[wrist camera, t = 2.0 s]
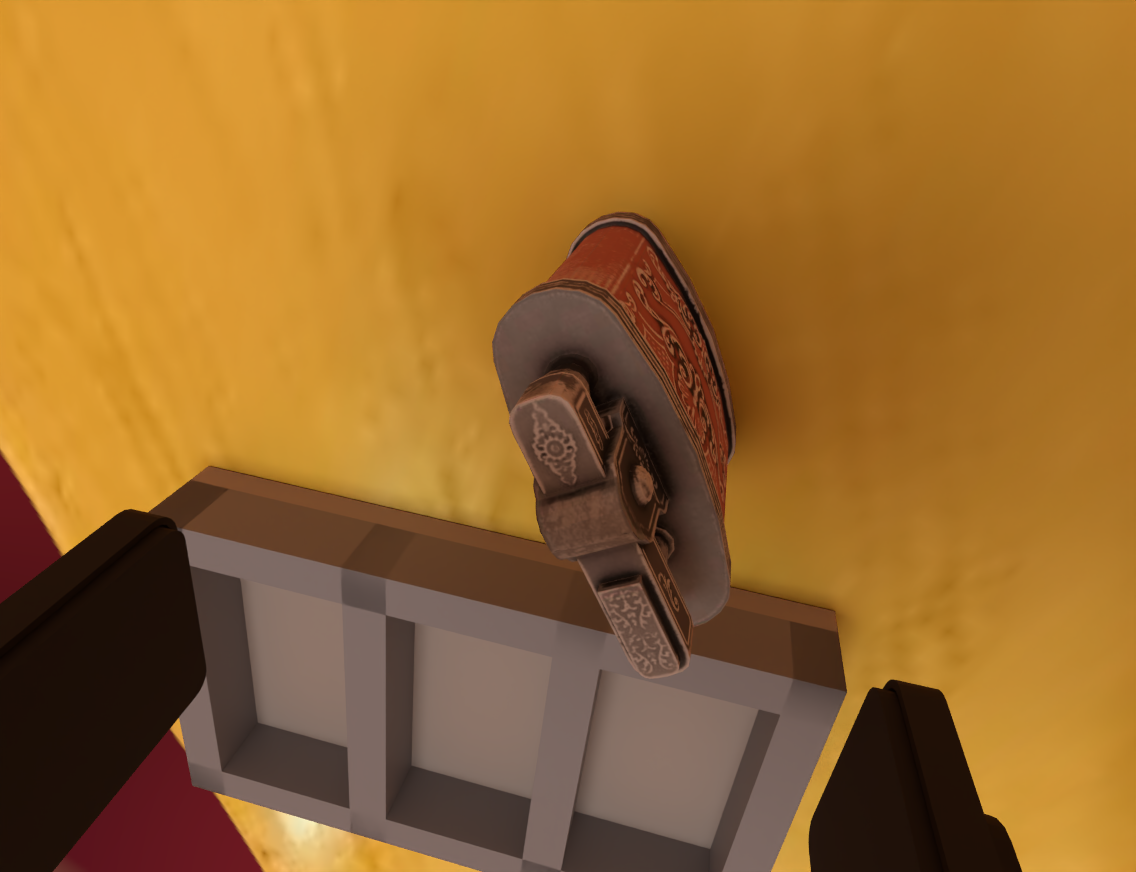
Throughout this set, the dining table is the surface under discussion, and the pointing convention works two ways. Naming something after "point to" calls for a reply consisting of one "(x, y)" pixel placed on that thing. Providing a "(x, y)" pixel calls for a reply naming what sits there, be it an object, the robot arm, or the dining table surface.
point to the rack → (485, 693)
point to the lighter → (626, 433)
